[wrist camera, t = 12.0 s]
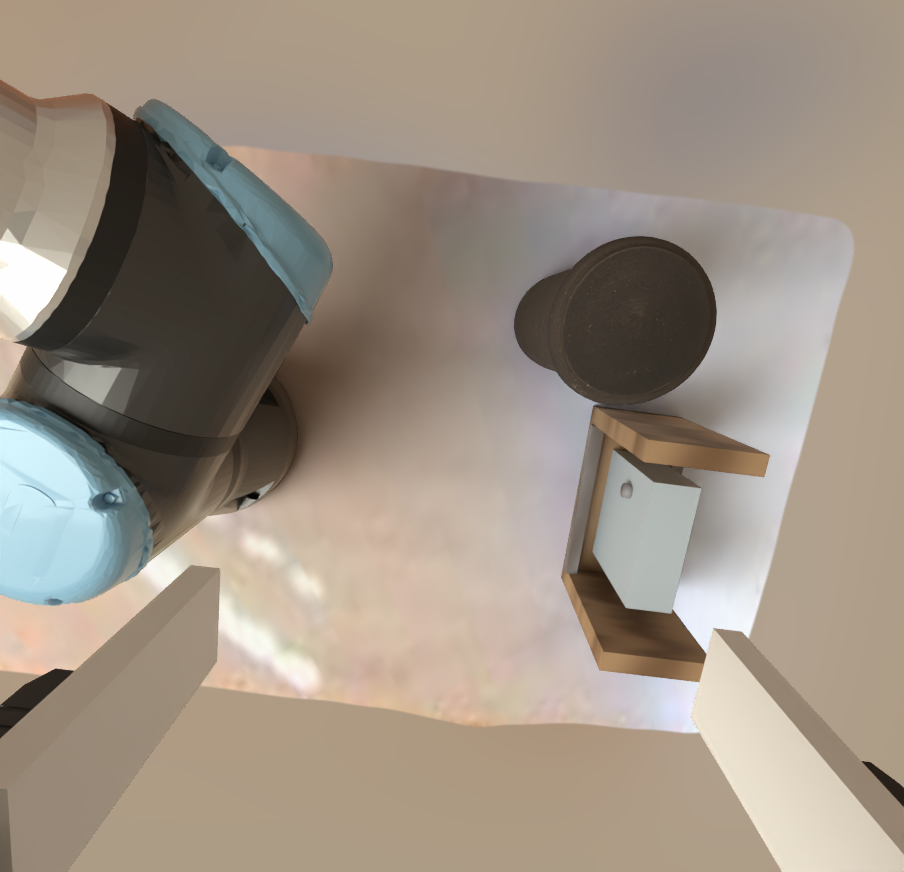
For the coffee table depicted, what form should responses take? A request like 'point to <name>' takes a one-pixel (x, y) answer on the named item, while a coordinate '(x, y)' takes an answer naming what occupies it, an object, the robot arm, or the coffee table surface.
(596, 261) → the container
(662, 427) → the brown cabinet body
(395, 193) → the coffee table surface
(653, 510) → the door slab
